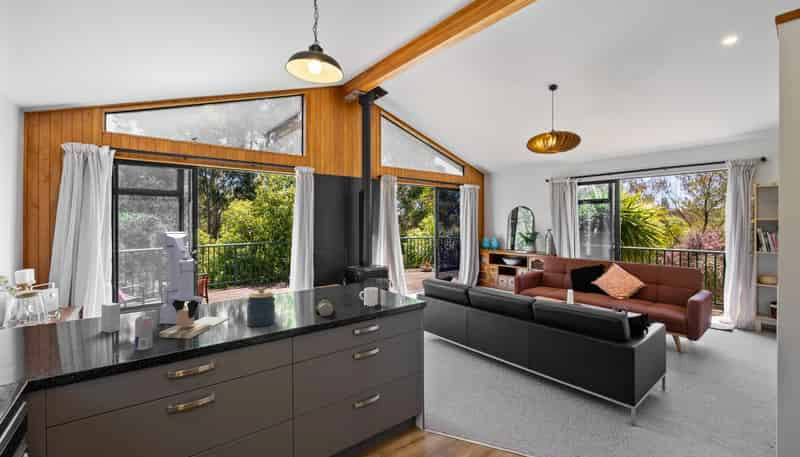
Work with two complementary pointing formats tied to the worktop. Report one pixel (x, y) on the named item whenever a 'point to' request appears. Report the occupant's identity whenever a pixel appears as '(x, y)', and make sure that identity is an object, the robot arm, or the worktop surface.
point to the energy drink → (143, 333)
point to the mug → (370, 296)
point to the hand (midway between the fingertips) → (185, 317)
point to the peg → (184, 318)
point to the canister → (260, 308)
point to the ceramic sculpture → (324, 307)
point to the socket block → (185, 331)
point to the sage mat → (211, 320)
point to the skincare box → (110, 317)
